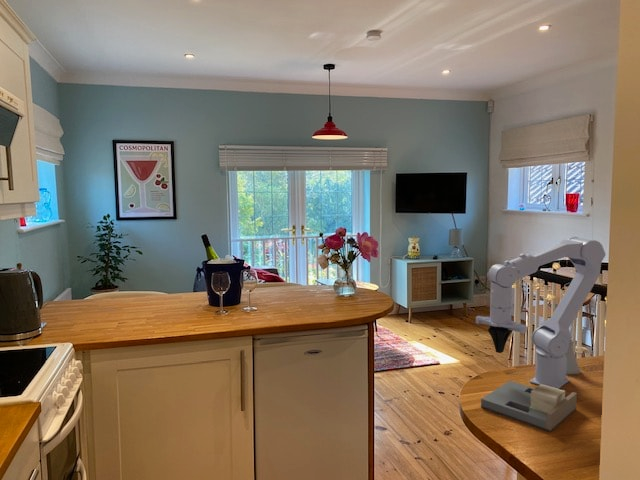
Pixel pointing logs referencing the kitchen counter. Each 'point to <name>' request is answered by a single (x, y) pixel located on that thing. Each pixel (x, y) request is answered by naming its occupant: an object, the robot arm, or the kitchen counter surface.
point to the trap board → (527, 406)
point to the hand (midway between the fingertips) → (499, 351)
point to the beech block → (546, 397)
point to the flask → (571, 360)
